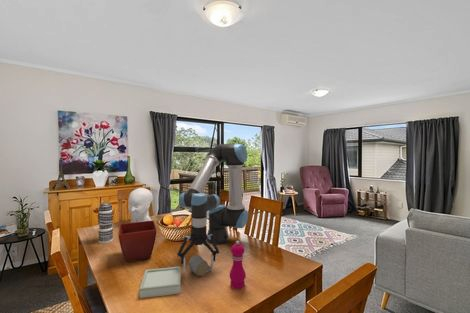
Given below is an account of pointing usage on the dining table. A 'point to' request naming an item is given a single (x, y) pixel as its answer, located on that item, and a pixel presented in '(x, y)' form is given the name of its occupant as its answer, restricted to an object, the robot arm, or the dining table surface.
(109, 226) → the decorative candle
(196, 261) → the ceramic mug
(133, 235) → the plant pot
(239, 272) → the pepper mill
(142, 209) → the head sculpture
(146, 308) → the dining table surface
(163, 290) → the display plinth
